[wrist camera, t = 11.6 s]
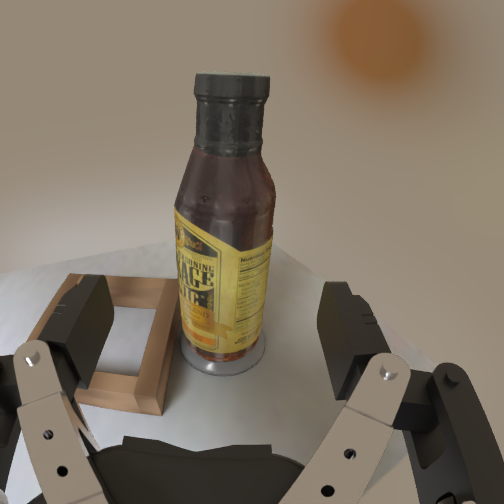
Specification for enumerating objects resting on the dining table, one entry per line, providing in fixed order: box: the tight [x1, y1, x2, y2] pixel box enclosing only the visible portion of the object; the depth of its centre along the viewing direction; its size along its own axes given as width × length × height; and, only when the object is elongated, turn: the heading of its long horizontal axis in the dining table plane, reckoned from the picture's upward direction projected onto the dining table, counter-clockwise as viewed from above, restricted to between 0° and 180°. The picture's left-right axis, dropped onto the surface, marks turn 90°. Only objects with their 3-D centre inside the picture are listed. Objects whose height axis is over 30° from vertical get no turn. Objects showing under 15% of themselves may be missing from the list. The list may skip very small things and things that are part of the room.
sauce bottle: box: [174, 72, 276, 362], centre depth 21 cm, size 6×6×20 cm
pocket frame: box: [26, 273, 181, 416], centre depth 24 cm, size 12×13×2 cm
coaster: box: [180, 329, 265, 376], centre depth 26 cm, size 7×7×1 cm
